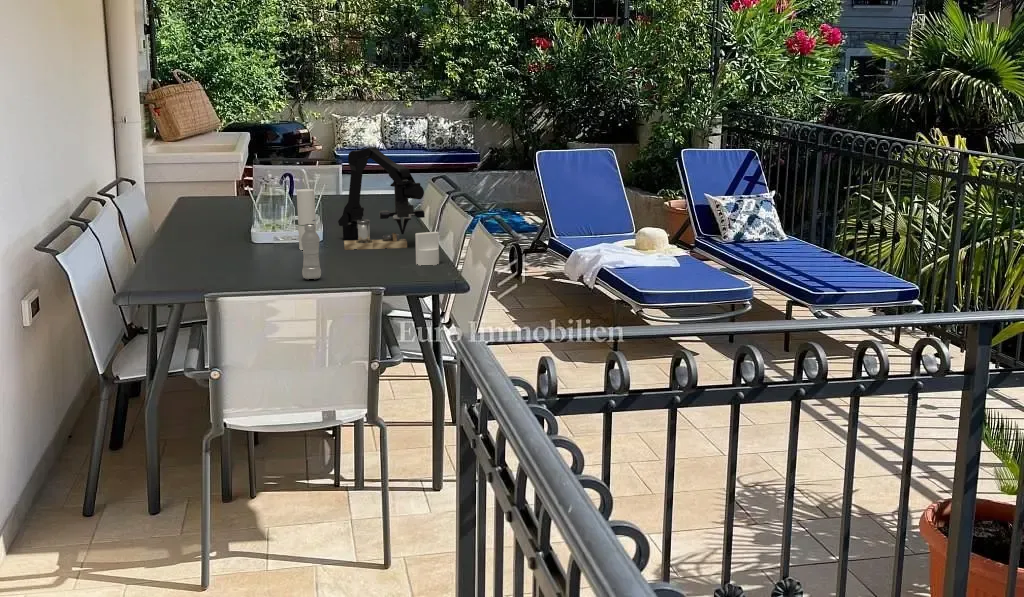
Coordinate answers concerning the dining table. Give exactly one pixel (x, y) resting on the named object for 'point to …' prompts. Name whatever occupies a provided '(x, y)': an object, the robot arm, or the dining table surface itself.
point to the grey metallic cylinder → (363, 231)
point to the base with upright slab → (427, 248)
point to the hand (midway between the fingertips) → (402, 234)
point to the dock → (376, 244)
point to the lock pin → (389, 237)
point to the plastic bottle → (310, 253)
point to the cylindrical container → (305, 210)
